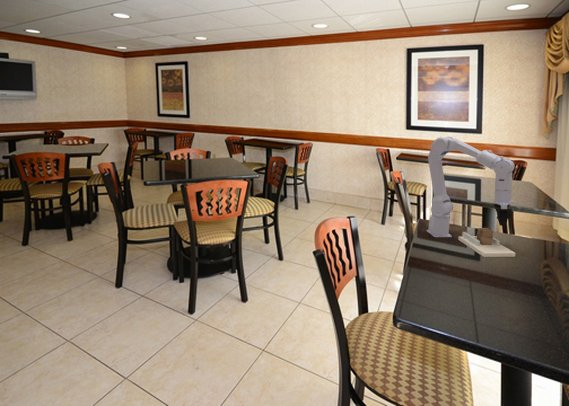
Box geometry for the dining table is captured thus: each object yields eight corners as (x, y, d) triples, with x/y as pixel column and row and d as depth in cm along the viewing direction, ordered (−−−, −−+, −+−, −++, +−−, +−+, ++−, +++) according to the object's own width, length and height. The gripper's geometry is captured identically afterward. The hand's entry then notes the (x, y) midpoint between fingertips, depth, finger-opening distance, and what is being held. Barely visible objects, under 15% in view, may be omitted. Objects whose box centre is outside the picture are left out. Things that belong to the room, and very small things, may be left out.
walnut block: (476, 241, 147) (478, 227, 145) (485, 241, 147) (487, 227, 145) (481, 245, 143) (483, 230, 141) (491, 244, 143) (493, 230, 141)
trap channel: (458, 239, 154) (459, 231, 153) (485, 239, 154) (486, 231, 153) (483, 257, 134) (484, 248, 134) (515, 256, 134) (516, 248, 134)
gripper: (517, 192, 131) (515, 228, 134) (513, 187, 144) (511, 219, 146) (495, 192, 135) (494, 227, 137) (493, 187, 147) (492, 218, 149)
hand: (501, 223), depth 142 cm, fingers open, 7 cm apart
